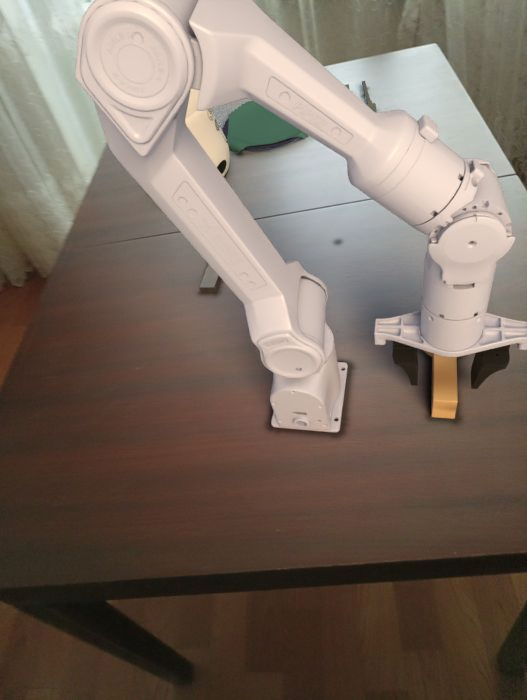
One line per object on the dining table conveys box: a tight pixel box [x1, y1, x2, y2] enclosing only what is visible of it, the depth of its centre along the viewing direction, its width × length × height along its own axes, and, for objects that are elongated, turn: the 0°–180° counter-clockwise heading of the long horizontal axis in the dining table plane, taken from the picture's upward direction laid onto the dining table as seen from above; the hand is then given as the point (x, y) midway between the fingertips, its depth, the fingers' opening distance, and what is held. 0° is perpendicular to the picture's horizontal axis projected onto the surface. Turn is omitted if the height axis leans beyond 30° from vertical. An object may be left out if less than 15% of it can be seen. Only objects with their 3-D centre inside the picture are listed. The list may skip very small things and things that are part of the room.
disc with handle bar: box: [423, 350, 459, 420], centre depth 57 cm, size 13×5×4 cm, turn 168°
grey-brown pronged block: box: [199, 263, 222, 294], centre depth 79 cm, size 17×5×1 cm, turn 168°
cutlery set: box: [222, 80, 377, 154], centre depth 98 cm, size 20×30×2 cm, turn 90°
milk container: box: [185, 89, 231, 178], centre depth 87 cm, size 17×17×18 cm
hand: (443, 379), depth 56 cm, fingers open, 6 cm apart
